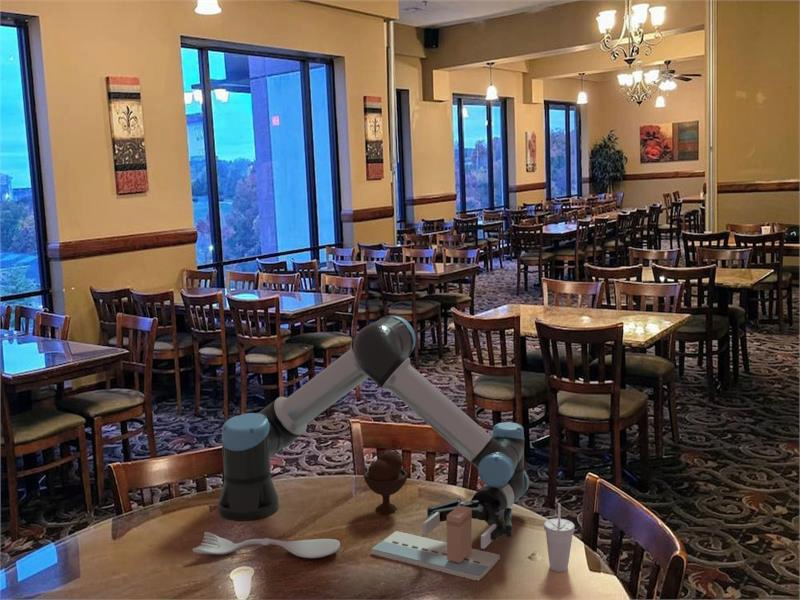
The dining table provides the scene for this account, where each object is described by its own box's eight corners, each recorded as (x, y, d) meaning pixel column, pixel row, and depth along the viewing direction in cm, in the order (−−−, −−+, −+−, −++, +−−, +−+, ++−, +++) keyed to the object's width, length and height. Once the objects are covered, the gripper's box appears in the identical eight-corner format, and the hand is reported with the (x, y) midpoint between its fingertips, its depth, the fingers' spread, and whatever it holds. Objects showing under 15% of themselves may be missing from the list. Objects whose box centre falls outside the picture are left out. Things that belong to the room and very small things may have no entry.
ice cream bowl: (381, 498, 208) (380, 442, 205) (416, 507, 201) (415, 450, 199) (355, 511, 199) (354, 454, 197) (391, 522, 193) (390, 462, 190)
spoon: (205, 544, 183) (204, 529, 182) (342, 546, 181) (342, 531, 180) (192, 562, 174) (191, 547, 174) (337, 564, 172) (336, 549, 171)
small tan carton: (446, 559, 169) (446, 515, 168) (459, 548, 175) (458, 505, 173) (459, 563, 168) (459, 518, 166) (471, 551, 173) (471, 507, 172)
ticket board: (371, 554, 176) (371, 548, 176) (396, 534, 185) (396, 530, 185) (478, 581, 163) (478, 575, 163) (499, 559, 173) (499, 554, 172)
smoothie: (572, 561, 171) (573, 499, 169) (575, 575, 165) (576, 511, 163) (542, 560, 172) (542, 498, 170) (544, 574, 166) (545, 510, 164)
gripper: (543, 526, 180) (508, 565, 162) (444, 505, 192) (401, 540, 174) (543, 494, 179) (508, 530, 161) (444, 476, 191) (401, 507, 173)
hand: (452, 535), depth 167 cm, fingers open, 13 cm apart
